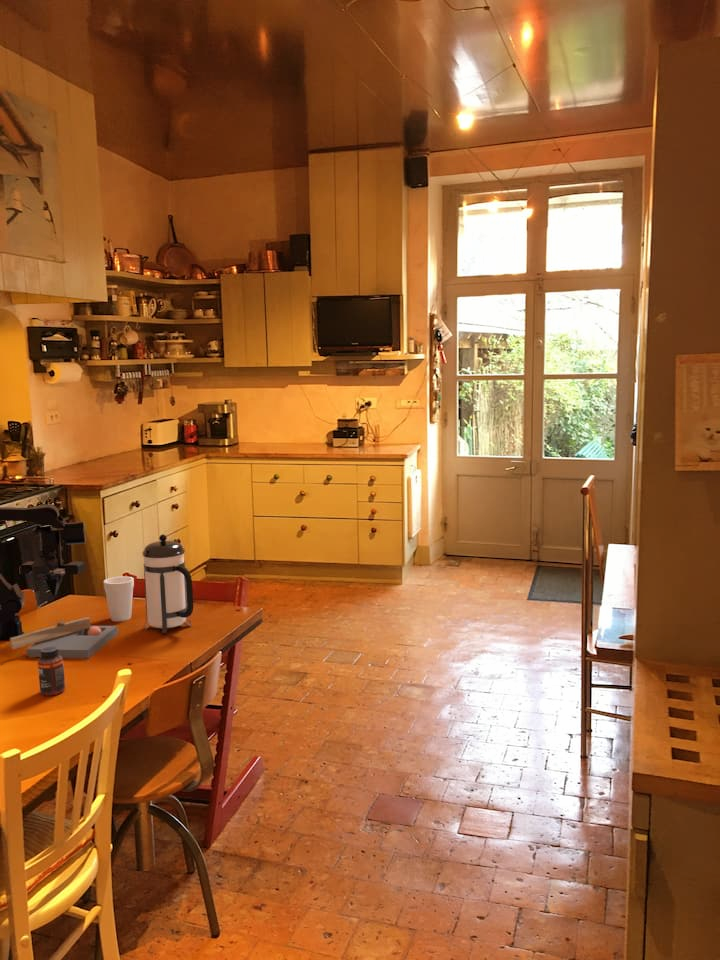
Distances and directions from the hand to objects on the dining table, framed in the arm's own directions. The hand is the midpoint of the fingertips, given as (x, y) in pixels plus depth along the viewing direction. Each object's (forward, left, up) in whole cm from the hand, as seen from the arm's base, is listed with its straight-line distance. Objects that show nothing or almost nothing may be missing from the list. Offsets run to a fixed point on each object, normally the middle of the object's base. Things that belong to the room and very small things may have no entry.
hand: (54, 594), depth 239 cm
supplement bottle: (+21, -45, -12) cm, 51 cm away
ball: (+15, -6, -10) cm, 19 cm away
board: (+11, -11, -12) cm, 20 cm away
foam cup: (+15, +14, -12) cm, 24 cm away
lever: (+5, -13, -9) cm, 17 cm away
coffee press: (+35, +5, -12) cm, 37 cm away
